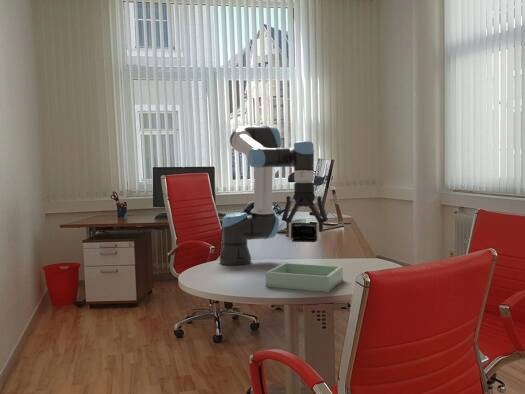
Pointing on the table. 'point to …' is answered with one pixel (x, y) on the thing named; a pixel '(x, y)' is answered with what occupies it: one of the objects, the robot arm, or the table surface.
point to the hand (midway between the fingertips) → (304, 239)
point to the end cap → (304, 232)
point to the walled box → (304, 277)
